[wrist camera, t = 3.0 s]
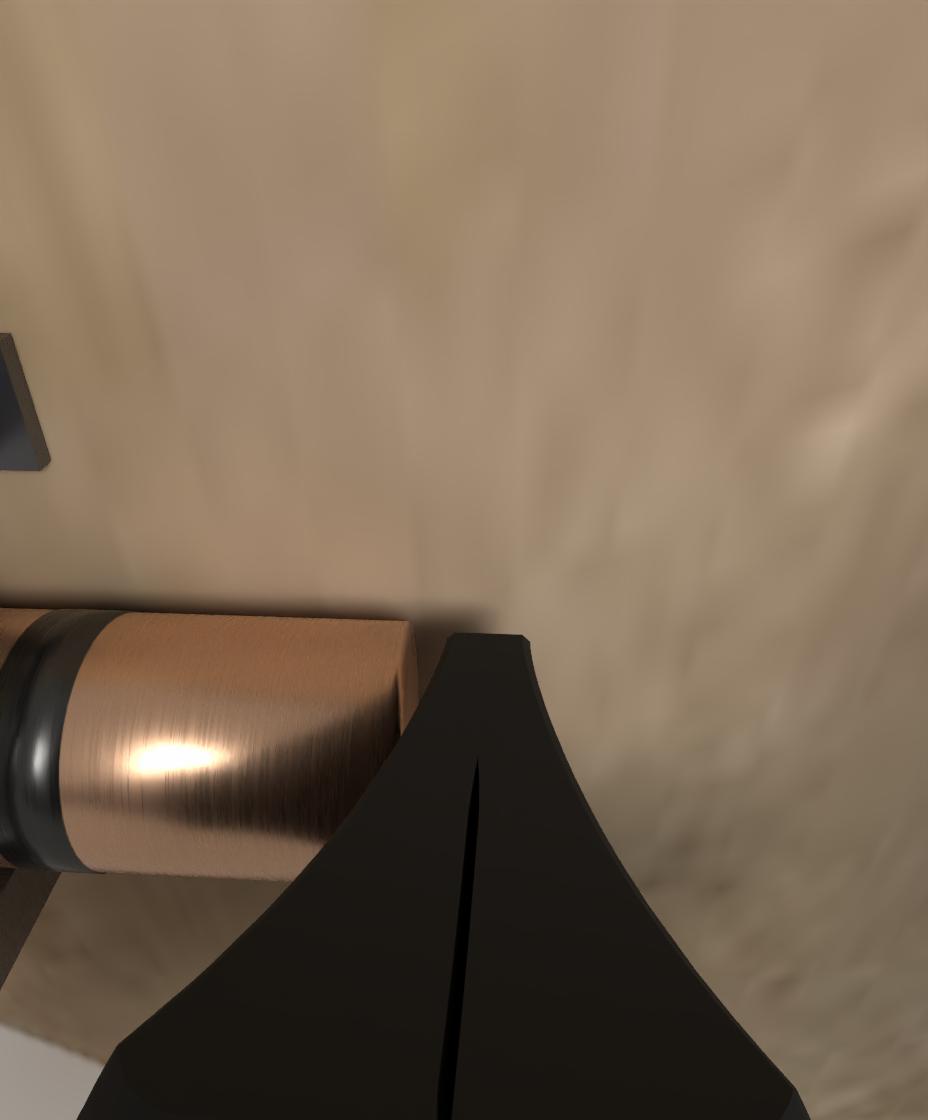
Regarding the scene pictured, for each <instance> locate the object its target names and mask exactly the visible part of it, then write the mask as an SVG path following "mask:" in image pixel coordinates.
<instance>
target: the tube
mask: <svg viewBox="0 0 928 1120" xmlns="http://www.w3.org/2000/svg"><path fill="white" fill-rule="evenodd" d="M417 707H418V662H417V649H416V641H415V634H414V630H413V627H412V624H411V623H410V622H409V621H386V620H355V619H324V618H293V617H262V616H232V615H201V614H170V613H140V612H137V611H120V610H89V609H58V610H47V609H16V608H0V867H9V868H20V869H23V870H37V871H56V872H76V873H96V874H105V873H128V874H147V875H167V876H187V877H207V878H226V879H246V880H266V881H286V882H293V881H294V880H295V879H296V877H297V876H298V875H299V874H300V873H301V872H302V871H303V869H304V868H305V867H306V866H307V865H308V864H309V862H310V861H311V860H312V859H313V858H314V857H315V856H316V854H317V853H318V852H319V851H320V850H321V849H322V847H323V846H324V845H325V844H326V842H327V841H328V840H329V839H330V837H331V836H332V835H333V834H334V832H335V831H336V830H337V828H338V827H339V826H340V825H341V823H342V822H343V821H344V820H345V818H346V817H347V816H348V814H349V813H350V812H351V810H352V809H353V807H354V806H355V805H356V803H357V802H358V801H359V799H360V798H361V796H362V795H363V794H364V792H365V791H366V789H367V788H368V786H369V785H370V783H371V782H372V780H373V779H374V777H375V776H376V774H377V773H378V771H379V770H380V768H381V767H382V765H383V764H384V762H385V761H386V759H387V758H388V756H389V755H390V753H391V752H392V750H393V748H394V747H395V745H396V743H397V742H398V740H399V739H400V737H401V735H402V733H403V731H404V730H405V728H406V726H407V724H408V723H409V721H410V719H411V717H412V716H413V714H414V712H415V710H416V709H417Z"/></svg>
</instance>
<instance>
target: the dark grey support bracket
mask: <svg viewBox="0 0 928 1120" xmlns="http://www.w3.org/2000/svg"><path fill="white" fill-rule="evenodd" d="M50 461H51V459H50V456H49V453H48V450H47V446H46V443H45V440H44V437H43V434H42V431H41V428H40V424H39V421H38V418H37V415H36V412H35V409H34V406H33V402H32V399H31V396H30V393H29V390H28V387H27V383H26V380H25V377H24V374H23V371H22V368H21V365H20V361H19V358H18V355H17V352H16V349H15V346H14V343H13V339H12V336H11V333H0V470H24V471H41V470H42V469H43V468H44V467H45V466H46V465H47V464H48V463H49V462H50ZM60 874H61V872H56V871H37V870H23V869H20V868H9V867H0V990H1V988H2V986H3V984H4V982H5V980H6V978H7V976H8V974H9V972H10V970H11V968H12V966H13V965H14V963H15V961H16V959H17V957H18V955H19V953H20V951H21V949H22V947H23V945H24V943H25V941H26V939H27V937H28V936H29V934H30V932H31V930H32V928H33V926H34V924H35V922H36V920H37V918H38V916H39V914H40V912H41V910H42V908H43V907H44V905H45V903H46V901H47V899H48V897H49V895H50V893H51V891H52V889H53V887H54V885H55V883H56V881H57V879H58V878H59V876H60Z"/></svg>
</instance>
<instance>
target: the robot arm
mask: <svg viewBox="0 0 928 1120" xmlns="http://www.w3.org/2000/svg"><path fill="white" fill-rule="evenodd" d="M77 1120H811V1119H810V1117H809V1115H808V1113H807V1110H806V1108H805V1106H804V1104H803V1102H802V1100H801V1098H800V1096H799V1094H798V1091H797V1090H796V1088H795V1087H794V1086H793V1085H792V1083H791V1082H790V1081H789V1080H788V1079H787V1078H786V1077H785V1076H784V1074H783V1073H782V1072H781V1071H780V1070H779V1069H778V1068H777V1067H776V1066H775V1064H774V1063H773V1062H772V1061H771V1060H770V1059H769V1058H768V1057H767V1056H766V1054H765V1053H764V1052H763V1051H762V1050H761V1049H760V1048H759V1047H758V1045H757V1044H756V1043H755V1042H754V1041H753V1040H752V1038H751V1037H750V1036H749V1035H748V1034H747V1033H746V1031H745V1030H744V1029H743V1028H742V1027H741V1026H740V1024H739V1023H738V1022H737V1021H736V1020H735V1019H734V1017H733V1016H732V1015H731V1014H730V1013H729V1011H728V1010H727V1009H726V1008H725V1006H724V1005H723V1004H722V1003H721V1001H720V1000H719V999H718V998H717V996H716V995H715V994H714V993H713V991H712V990H711V989H710V988H709V986H708V985H707V984H706V983H705V981H704V980H703V979H702V978H701V976H700V975H699V974H698V973H697V971H696V970H695V969H694V967H693V966H692V965H691V963H690V962H689V961H688V959H687V958H686V956H685V955H684V954H683V952H682V951H681V950H680V948H679V947H678V945H677V944H676V943H675V941H674V940H673V938H672V937H671V936H670V934H669V933H668V932H667V930H666V929H665V927H664V926H663V925H662V923H661V922H660V921H659V919H658V918H657V916H656V915H655V914H654V912H653V911H652V909H651V908H650V907H649V905H648V904H647V902H646V901H645V899H644V898H643V896H642V895H641V893H640V891H639V890H638V888H637V887H636V885H635V884H634V882H633V881H632V879H631V877H630V876H629V874H628V873H627V871H626V870H625V868H624V866H623V865H622V863H621V861H620V860H619V858H618V856H617V855H616V853H615V851H614V850H613V848H612V846H611V845H610V843H609V841H608V840H607V838H606V836H605V834H604V833H603V831H602V829H601V827H600V825H599V824H598V822H597V820H596V818H595V816H594V814H593V812H592V810H591V809H590V807H589V805H588V803H587V801H586V799H585V797H584V795H583V793H582V791H581V789H580V787H579V785H578V783H577V781H576V779H575V777H574V774H573V772H572V770H571V768H570V766H569V763H568V761H567V759H566V757H565V754H564V752H563V750H562V747H561V745H560V742H559V740H558V738H557V735H556V733H555V730H554V728H553V725H552V723H551V720H550V718H549V715H548V712H547V709H546V707H545V704H544V701H543V697H542V694H541V691H540V688H539V685H538V681H537V678H536V674H535V670H534V666H533V661H532V656H531V649H530V642H529V641H528V640H527V639H526V638H525V637H524V636H523V635H512V634H483V633H454V634H453V635H452V636H450V637H449V638H448V639H447V641H446V644H445V648H444V651H443V653H442V656H441V658H440V661H439V663H438V666H437V668H436V670H435V673H434V675H433V677H432V679H431V681H430V683H429V685H428V687H427V689H426V691H425V693H424V695H423V697H422V699H421V701H420V703H419V705H418V707H417V709H416V710H415V712H414V714H413V716H412V717H411V719H410V721H409V723H408V724H407V726H406V728H405V730H404V731H403V733H402V735H401V737H400V739H399V740H398V742H397V743H396V745H395V747H394V748H393V750H392V752H391V753H390V755H389V756H388V758H387V759H386V761H385V762H384V764H383V765H382V767H381V768H380V770H379V771H378V773H377V774H376V776H375V777H374V779H373V780H372V782H371V783H370V785H369V786H368V788H367V789H366V791H365V792H364V794H363V795H362V796H361V798H360V799H359V801H358V802H357V803H356V805H355V806H354V807H353V809H352V810H351V812H350V813H349V814H348V816H347V817H346V818H345V820H344V821H343V822H342V823H341V825H340V826H339V827H338V828H337V830H336V831H335V832H334V834H333V835H332V836H331V837H330V839H329V840H328V841H327V842H326V844H325V845H324V846H323V847H322V849H321V850H320V851H319V852H318V853H317V854H316V856H315V857H314V858H313V859H312V860H311V861H310V862H309V864H308V865H307V866H306V867H305V868H304V869H303V871H302V872H301V873H300V874H299V875H298V876H297V877H296V879H295V880H294V881H293V882H292V883H291V884H290V885H289V887H288V888H287V889H286V890H285V891H284V892H283V893H282V894H281V895H280V896H279V897H278V899H277V900H276V901H275V902H274V903H273V904H272V905H271V906H270V907H269V908H268V909H267V910H266V911H265V912H264V913H263V914H262V915H261V916H260V917H259V918H258V919H257V920H256V921H255V922H254V923H253V924H252V925H251V926H250V927H249V928H248V929H247V930H246V931H245V932H244V933H243V934H242V935H241V936H240V937H239V938H238V939H237V940H236V941H235V942H234V943H233V944H232V945H231V946H230V947H229V948H228V949H226V950H225V951H224V952H223V953H222V954H221V955H220V956H219V957H218V958H217V959H216V960H215V961H214V962H213V963H212V964H211V965H210V966H209V967H208V968H207V969H206V970H205V971H203V972H202V973H201V974H200V975H199V976H198V977H197V978H196V979H195V980H194V981H192V982H191V983H190V984H189V985H188V986H187V987H185V988H184V989H183V990H182V991H181V992H180V993H178V994H177V995H176V996H175V997H174V998H172V999H171V1000H170V1001H169V1002H168V1003H167V1004H165V1005H164V1006H163V1007H162V1008H161V1009H160V1010H158V1011H157V1012H156V1013H155V1014H154V1015H153V1016H151V1017H150V1018H149V1019H148V1020H147V1021H145V1022H144V1023H143V1024H142V1025H141V1026H140V1027H138V1028H137V1029H136V1030H135V1031H134V1032H133V1033H131V1034H130V1035H129V1036H128V1037H126V1038H125V1039H124V1040H123V1041H122V1042H121V1043H119V1044H118V1045H117V1047H116V1048H115V1050H114V1052H113V1053H112V1055H111V1057H110V1058H109V1060H108V1062H107V1064H106V1065H105V1067H104V1069H103V1071H102V1072H101V1075H100V1076H99V1078H98V1080H97V1081H96V1083H95V1085H94V1087H93V1089H92V1091H91V1093H90V1095H89V1097H88V1099H87V1101H86V1103H85V1105H84V1107H83V1109H82V1110H81V1112H80V1114H79V1116H78V1118H77Z"/></svg>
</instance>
